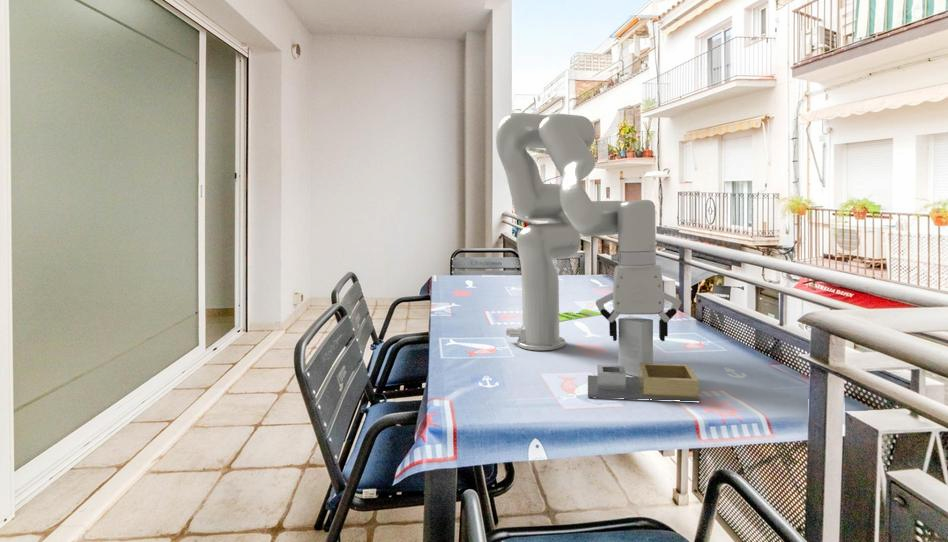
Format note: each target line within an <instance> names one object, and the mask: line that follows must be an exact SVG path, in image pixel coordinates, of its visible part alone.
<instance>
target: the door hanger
mask: <svg viewBox="0 0 948 542" xmlns="http://www.w3.org/2000/svg"><path fill="white" fill-rule="evenodd" d="M581 310H582V311H580V312H579V313H576V314H575V313H573V312H571V311H567V312H559V323H561V322H566V321H572V319H573V320H577V319H578V318H579V319H583V318H590V317H595V316H596V315H597V316H603V315H602V314H601V312H600V311H596V310H592V309H581ZM597 316H596V317H597Z"/></svg>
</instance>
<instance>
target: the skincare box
mask: <svg viewBox="0 0 948 542" xmlns="http://www.w3.org/2000/svg"><path fill="white" fill-rule="evenodd" d="M617 319H618V366H624V369H625V373H626V375H629V376H631V377H639V363H648V364H654V362H653V361H654V349H653V347H654V331H653V330H654V320H653V319H651V318H643V317H639V316H632V315H628V316H624V317H619V318H617Z"/></svg>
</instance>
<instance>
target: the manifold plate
mask: <svg viewBox="0 0 948 542" xmlns="http://www.w3.org/2000/svg"><path fill="white" fill-rule="evenodd" d="M596 367H597V371H596V372H597V375H591V374H589V375H588V374H587V398H588V397H596V398H595V399H597V398H624V399H649V400H650V399H652V400H680V401H700V402H701V397H700V396H699V393H700V392H699V389H700V387H699V385H700V383H699V382H700V380H699V379H698V377H697V375H696V374H695V372H694V371H693V369H692V368H691V366H690V364H679V363H678V364H676V363H653V364H648V363H639V377H635V376H627V374H626V373H625V369H624V366H619V365H609V364H608V365H607V364H605V365H603V364H597V366H596Z"/></svg>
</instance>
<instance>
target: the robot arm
mask: <svg viewBox="0 0 948 542" xmlns="http://www.w3.org/2000/svg"><path fill="white" fill-rule="evenodd" d="M495 135H496V136H495V142H496V143H495V145H496V149H497V154H498V157H499V160H500V162H501V164H502V167H503V169H504V172H505V175H506V179H507V180H506V181H507V185H508V189H509V192H510V196H511V201H512V204H513V208H514V211H515V214H516V216H517V217H518V218H519V219H520V220H522V221H531V222H532V221H547V222H546V223H535V224H530V225H527V226H525V227H524V228H522V229H521V230H520V231H519V233H518V235H517V238H516V248H517V253H518V257H519V264H520V273H521V274H520V275H521V297H522V298H521V305H522V306H521V308H522V309H521V310H522V313H521V314H522V326H521V327H518V328H506V330H505V331H506V333H505V334H506V336H507V337H510V338H518V339H517V340H516V344H517V346H518V347H520V348H522V349H525V350H530V351H552V350H553V351H554V350H559V349H561V348H564V347H565V345H566V339H565V338H564V337H562V336H560V322H559V313H560V288H559V287H560V286H559V285H560V284H559V283H560V282H559V281H560V280H559V275H558V272H557V270H556V269H557V268H556V267H555V265H554V264H553V261H554V260H562V259H568V258H572V257H573V256H575V255H576V254H577V253H578V252H579V251H580V247H581V235H582V236H584V237H591V238H592V237H600V236H601V237H602V236H616V235H617V252H616V253H615V254H611V255H610V256H611V259H610V260H611V262H616V263H618V265H615V267H614V271H613V282H612V292H611V293H608V294H606V295H604V296H602V297H600V298H599V299H597V300H596V301H595V305H596V308H597V309H598V310H599V311H598V312H601V314H602V315H601V316H603V317H604V318H605V319H606V320H607V321H608V323H609V337H612V340H613V342H616V341H617V340H618V330H617V328H618V326H617V325H618V324H617V320H616V319H618V317H619V315H628V316H632V315H658V317H659V318H660V319H659V320H658V336H659V340H660V341H661V342H665V340H666V338H665V337H668V335H669V334H668V333H669V332H668V328H669V327H668V326H669V325H668V322H670V320H671V319H672V318H673V317H675V315H676V314H677V312H678V310H679V308H681V305H682V302H683V301H682V300H681V299H680V298H677V297H674V296H673V295H671V294H668V293H667V292H664V283H663V282H664V281H663V274H662V270H661V269H662V268H661V266H660V265H659V264H657V257H656V256H657V255H656V254H657V252H656V251H657V245H656V243H657V241H656V240H657V237H656V233H657V232H656V229H657V228H656V205H655V203H654V201H652V200H650V199H633V200H632V199H631V200H591V198H590V197H589V195H588V193H587V192H586V190H585V188H584V186H583V183H582V180H584V179H585V178H587V176H589V175H590V174H591V173H592V171H593V170H594V169H595V166H596V157H595V156H594V154H593V153H592V151H591V150H590V149H589V148H590V147H592V145H593V144H594V141H595V139H596V129H595V127H594V124H593V122H592V121H591V120H590V119H589V118H588V117H586V116H584V115H579V114H578V115H577V114H568V113H554V114H549V115H547V114H539V113H526V112H518V113H517V112H516V113H510V114H508V115H505V117H503V118H502V119H501V120H500V122H499V124H498V127H497V130H496V134H495ZM527 148H529V149H545V151H547V154H548V156H549V157H550V159H551V161H552V162H553V164H554V167H556V169H557V172H558V173H559V174H560V177H561V181H560V184H557V183H545V182H543V180H542V178H541V175H540V170H539V167H538V164H537V162H536V160H535V159H534V158H533V156H532V155H531V154H530V153H529V152H528V151H527ZM611 301H612V309H613V310H611V312H609V311H608V310H607V309H606V308H605V306H604V305H605V304H606V303H609V302H611ZM665 301H667V302H669V303H671V307H670V308H669V309H668V310H667V311H666V312H664V311H665V310H664V309H665Z"/></svg>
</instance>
